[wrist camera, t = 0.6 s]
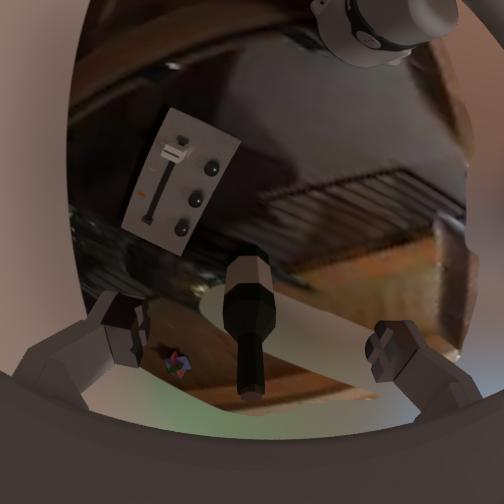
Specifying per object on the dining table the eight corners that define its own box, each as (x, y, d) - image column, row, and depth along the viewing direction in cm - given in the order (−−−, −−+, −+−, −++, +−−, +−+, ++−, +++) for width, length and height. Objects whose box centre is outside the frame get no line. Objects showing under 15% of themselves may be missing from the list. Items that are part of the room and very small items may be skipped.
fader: (172, 141, 41) (165, 144, 37) (188, 148, 41) (182, 152, 38) (167, 151, 42) (160, 155, 38) (183, 159, 42) (177, 163, 39)
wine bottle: (221, 272, 55) (206, 405, 29) (235, 237, 52) (227, 369, 25) (259, 285, 57) (269, 416, 31) (276, 251, 53) (301, 383, 27)
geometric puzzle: (157, 350, 64) (161, 380, 60) (180, 346, 63) (185, 378, 60) (171, 352, 70) (175, 380, 67) (192, 348, 69) (197, 377, 66)
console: (173, 107, 40) (167, 106, 36) (241, 140, 43) (241, 142, 40) (124, 223, 50) (116, 231, 46) (182, 251, 53) (178, 261, 49)
